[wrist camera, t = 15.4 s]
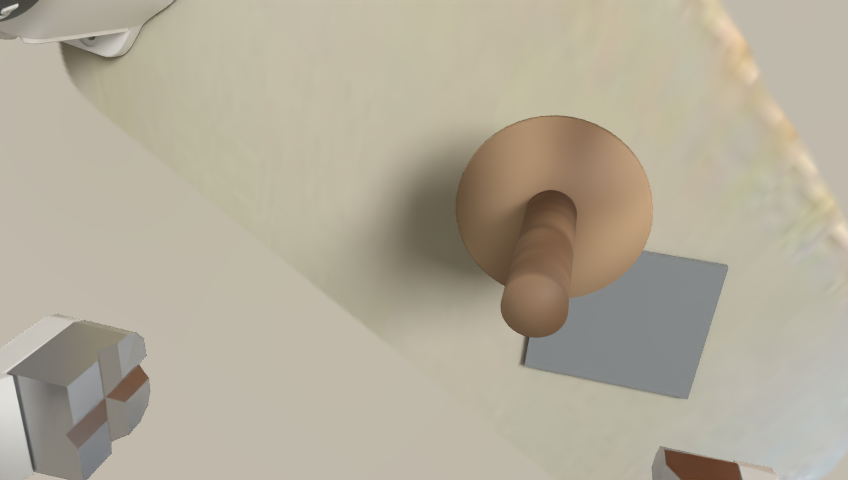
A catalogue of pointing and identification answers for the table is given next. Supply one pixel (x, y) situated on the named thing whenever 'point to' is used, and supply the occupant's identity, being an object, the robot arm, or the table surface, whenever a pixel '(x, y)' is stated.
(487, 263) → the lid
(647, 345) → the mat
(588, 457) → the table surface
